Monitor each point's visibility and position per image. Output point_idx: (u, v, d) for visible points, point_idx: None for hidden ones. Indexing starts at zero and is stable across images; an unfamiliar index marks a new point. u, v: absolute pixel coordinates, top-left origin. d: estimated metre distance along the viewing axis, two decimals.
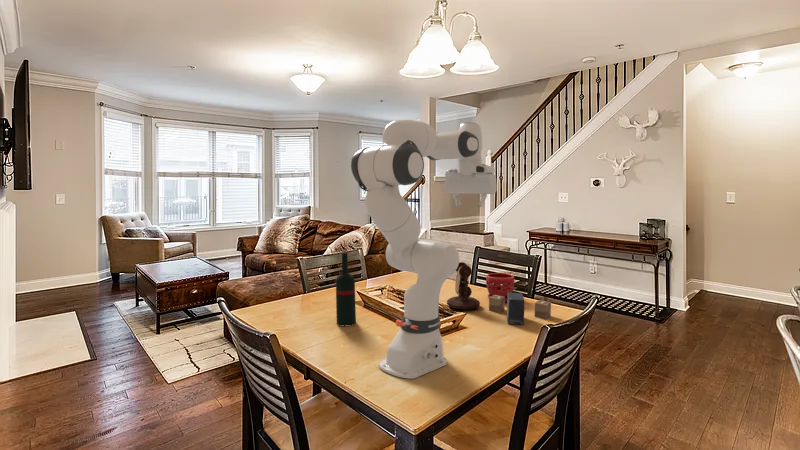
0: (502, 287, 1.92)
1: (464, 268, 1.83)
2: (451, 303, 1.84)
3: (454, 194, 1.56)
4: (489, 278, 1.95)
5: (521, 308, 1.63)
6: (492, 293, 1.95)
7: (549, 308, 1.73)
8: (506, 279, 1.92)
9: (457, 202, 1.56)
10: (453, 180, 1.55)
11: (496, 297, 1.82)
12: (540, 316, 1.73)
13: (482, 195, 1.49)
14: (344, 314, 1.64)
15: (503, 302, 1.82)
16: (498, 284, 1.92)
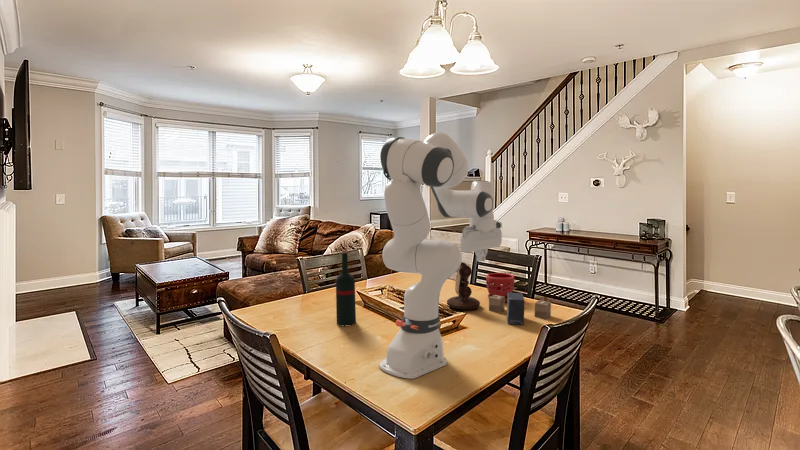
0: (502, 287, 1.92)
1: (464, 268, 1.83)
2: (451, 303, 1.84)
3: (480, 250, 1.53)
4: (489, 278, 1.95)
5: (521, 308, 1.63)
6: (492, 293, 1.95)
7: (549, 308, 1.73)
8: (506, 279, 1.92)
9: (482, 258, 1.54)
10: (474, 238, 1.50)
11: (496, 297, 1.82)
12: (540, 316, 1.73)
13: (486, 250, 1.55)
14: (344, 314, 1.64)
15: (503, 302, 1.82)
16: (498, 284, 1.92)
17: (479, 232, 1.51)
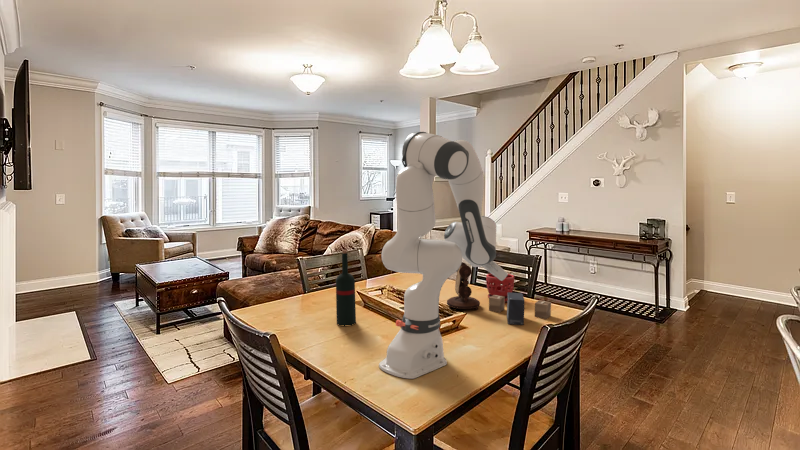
0: (502, 287, 1.92)
1: (464, 268, 1.83)
2: (451, 303, 1.84)
3: None
4: (489, 278, 1.95)
5: (521, 308, 1.63)
6: (492, 293, 1.95)
7: (549, 308, 1.73)
8: (506, 279, 1.92)
9: None
10: None
11: (496, 297, 1.82)
12: (540, 316, 1.73)
13: None
14: (344, 314, 1.64)
15: (503, 302, 1.82)
16: (498, 284, 1.92)
17: None
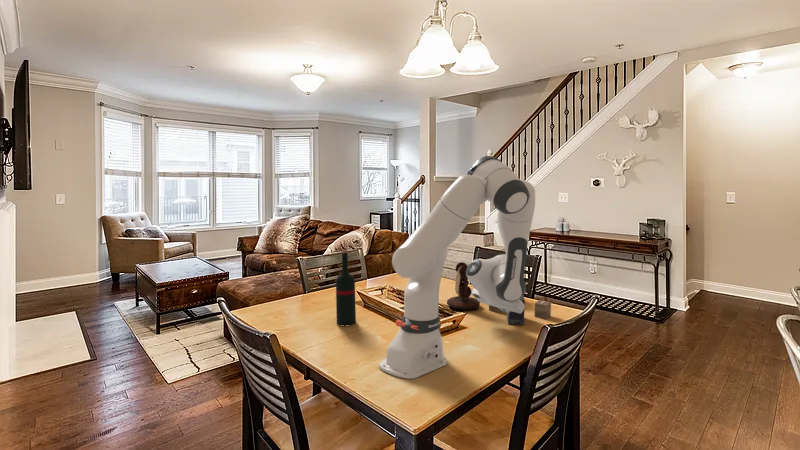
0: None
1: (464, 268, 1.83)
2: (451, 303, 1.84)
3: None
4: None
5: None
6: None
7: (549, 308, 1.73)
8: None
9: None
10: None
11: None
12: (540, 316, 1.73)
13: None
14: (344, 314, 1.64)
15: None
16: None
17: None
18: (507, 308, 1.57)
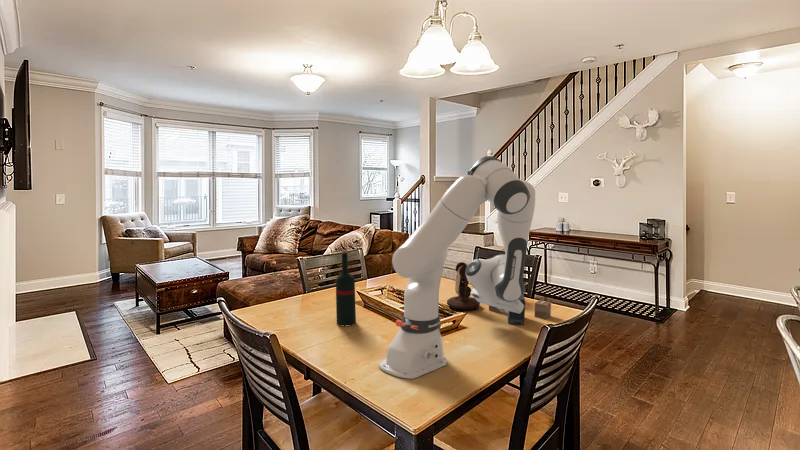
0: None
1: (464, 268, 1.83)
2: (451, 303, 1.84)
3: None
4: None
5: None
6: None
7: (549, 308, 1.73)
8: None
9: None
10: None
11: None
12: (540, 316, 1.73)
13: None
14: (344, 314, 1.64)
15: None
16: None
17: None
18: (506, 308, 1.58)
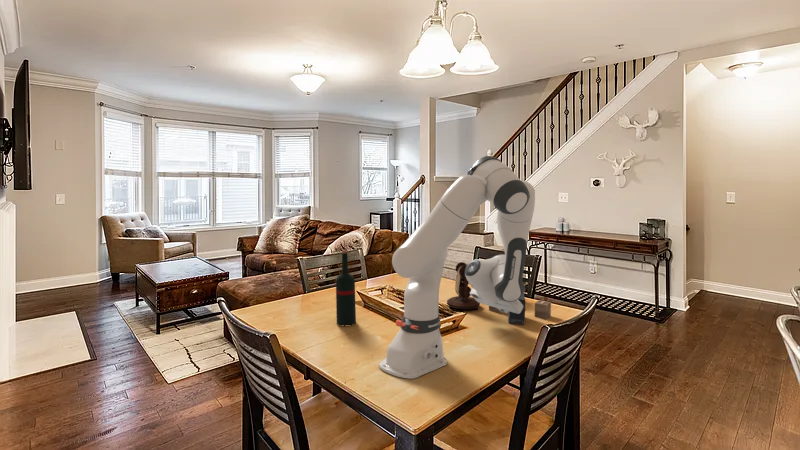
0: None
1: (464, 268, 1.83)
2: (451, 303, 1.84)
3: None
4: None
5: None
6: None
7: (549, 308, 1.73)
8: None
9: None
10: None
11: None
12: (540, 316, 1.73)
13: None
14: (344, 314, 1.64)
15: None
16: None
17: None
18: (505, 308, 1.57)
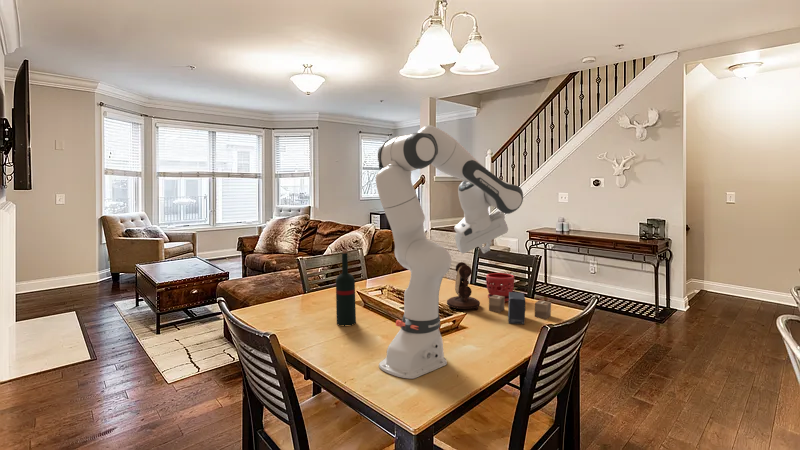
0: (502, 287, 1.92)
1: (464, 268, 1.83)
2: (451, 303, 1.84)
3: None
4: (489, 278, 1.95)
5: (522, 308, 1.64)
6: (492, 293, 1.95)
7: (549, 308, 1.73)
8: (506, 279, 1.92)
9: None
10: None
11: (496, 297, 1.82)
12: (540, 316, 1.73)
13: None
14: (344, 314, 1.64)
15: (503, 302, 1.82)
16: (498, 284, 1.92)
17: None
18: (495, 234, 1.53)
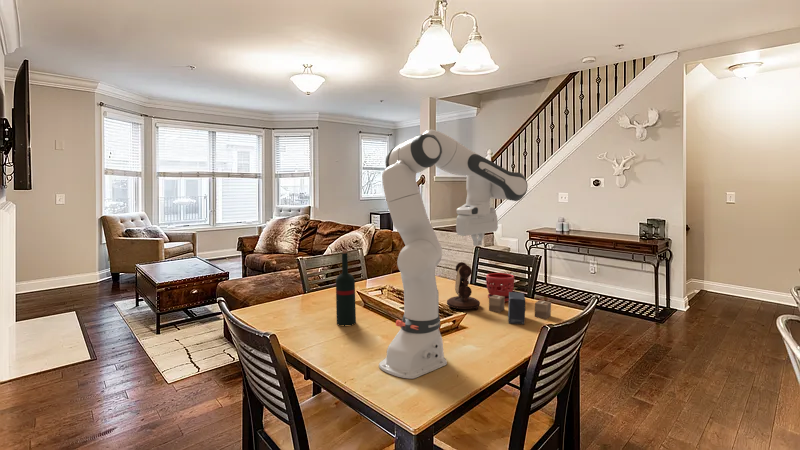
0: (502, 287, 1.92)
1: (464, 268, 1.83)
2: (451, 303, 1.84)
3: None
4: (489, 278, 1.95)
5: (522, 308, 1.64)
6: (492, 293, 1.95)
7: (549, 308, 1.73)
8: (506, 279, 1.92)
9: None
10: None
11: (496, 297, 1.82)
12: (540, 316, 1.73)
13: None
14: (344, 314, 1.64)
15: (503, 302, 1.82)
16: (498, 284, 1.92)
17: None
18: (489, 227, 1.55)
